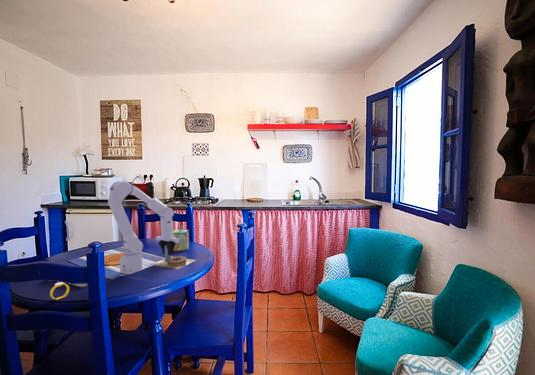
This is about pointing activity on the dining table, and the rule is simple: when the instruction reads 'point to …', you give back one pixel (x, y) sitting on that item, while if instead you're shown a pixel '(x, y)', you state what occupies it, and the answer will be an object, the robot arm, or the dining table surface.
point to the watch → (58, 286)
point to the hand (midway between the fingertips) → (167, 254)
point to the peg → (166, 253)
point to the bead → (176, 261)
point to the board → (164, 264)
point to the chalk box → (181, 239)
